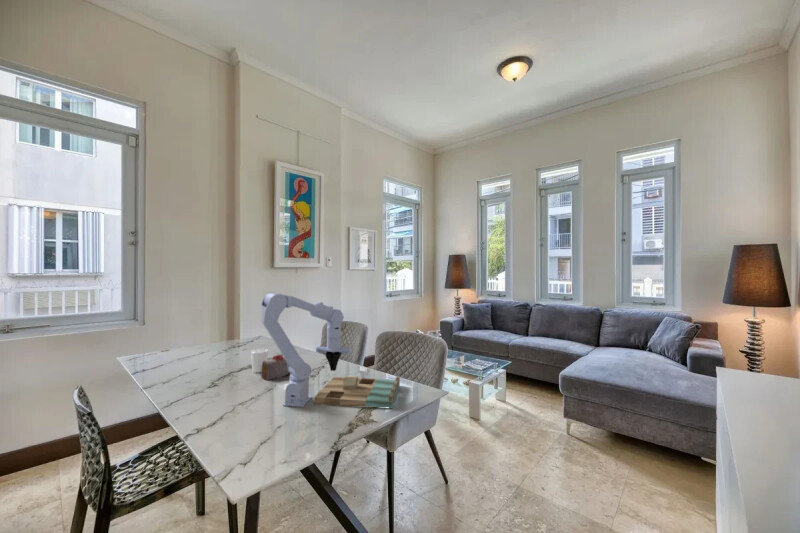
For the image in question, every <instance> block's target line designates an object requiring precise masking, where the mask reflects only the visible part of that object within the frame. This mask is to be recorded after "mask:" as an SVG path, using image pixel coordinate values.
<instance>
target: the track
mask: <svg viewBox="0 0 800 533" xmlns="http://www.w3.org/2000/svg"><path fill="white" fill-rule="evenodd" d="M345 377H346V376H334V377H333V378H331V379H330V380H329V381H328V383H326V384H325V386H324V387H322V389H321V390H320V391H319V392H318V393H317V394H316V395H315V396H314V397H313V400H314V401H313V403H314V405H321V404H326V405H325V406H337V405H345V406H344V407H352V406H371V407H372V406H373V407H389V408H392V409H393V407H392V406H394V404H395V401H396V398H397V395H398V391H399V389H400V385H401V384H400V383H401V382H400V375H396V377H395V379H386V378H385V379H384V378H369V377H368V378H367V377H366V378H364V377H358V387H357V388H356V390H343V379H344V378H345ZM395 397H396V398H395ZM394 400H395V401H394ZM393 403H394V404H393ZM346 405H348V406H346Z"/></svg>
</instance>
